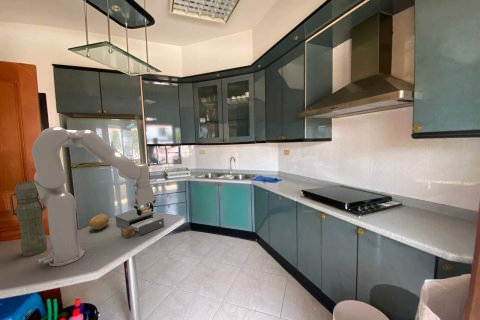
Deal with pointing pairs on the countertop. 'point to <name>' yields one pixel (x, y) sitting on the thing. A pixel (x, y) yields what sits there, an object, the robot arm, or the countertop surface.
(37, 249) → the thermos
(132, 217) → the box
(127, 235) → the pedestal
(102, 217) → the potato
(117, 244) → the countertop surface
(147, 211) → the disc
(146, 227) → the tray
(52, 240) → the robot arm
